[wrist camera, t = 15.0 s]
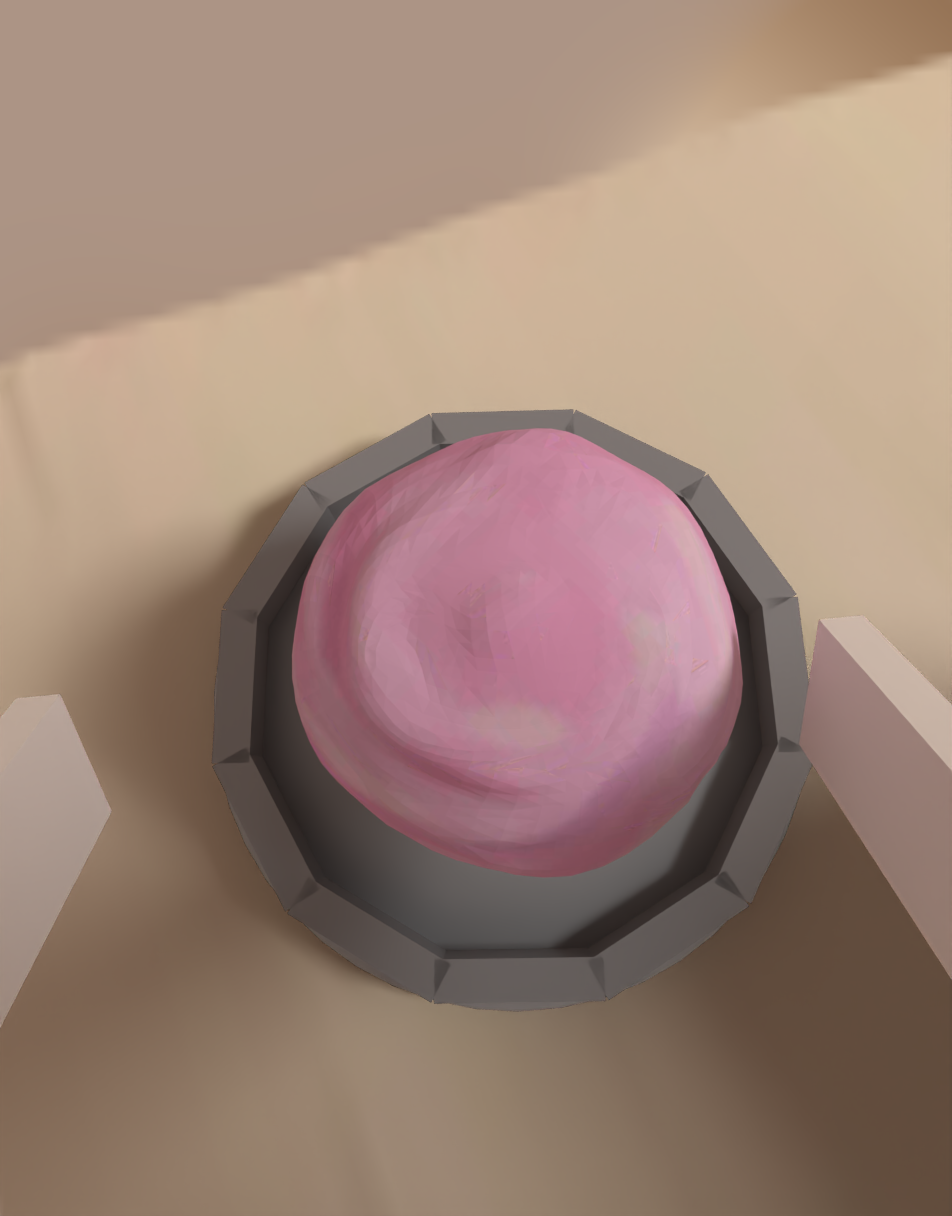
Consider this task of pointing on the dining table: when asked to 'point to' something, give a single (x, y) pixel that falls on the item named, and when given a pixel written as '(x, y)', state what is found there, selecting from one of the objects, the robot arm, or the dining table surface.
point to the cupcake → (518, 653)
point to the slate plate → (471, 895)
